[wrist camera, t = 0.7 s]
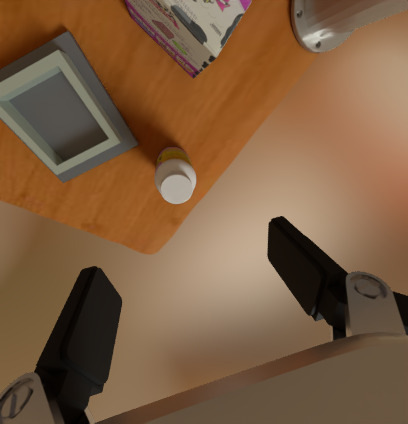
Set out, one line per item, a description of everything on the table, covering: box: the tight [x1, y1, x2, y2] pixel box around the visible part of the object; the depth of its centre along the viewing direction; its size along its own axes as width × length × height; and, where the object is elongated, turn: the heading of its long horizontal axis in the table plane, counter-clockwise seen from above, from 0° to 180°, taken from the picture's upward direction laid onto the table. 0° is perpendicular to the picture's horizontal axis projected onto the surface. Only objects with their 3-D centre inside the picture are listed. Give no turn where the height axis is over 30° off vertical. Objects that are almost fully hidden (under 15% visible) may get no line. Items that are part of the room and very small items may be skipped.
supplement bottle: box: [155, 147, 196, 204], centre depth 31 cm, size 7×7×13 cm
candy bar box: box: [124, 0, 252, 78], centre depth 20 cm, size 11×5×16 cm, turn 52°
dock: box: [0, 31, 139, 183], centre depth 28 cm, size 16×16×4 cm
